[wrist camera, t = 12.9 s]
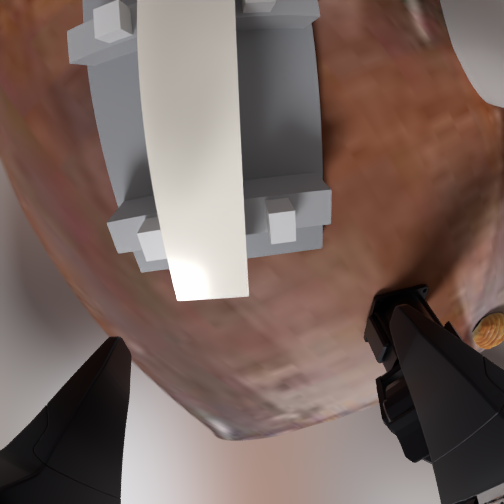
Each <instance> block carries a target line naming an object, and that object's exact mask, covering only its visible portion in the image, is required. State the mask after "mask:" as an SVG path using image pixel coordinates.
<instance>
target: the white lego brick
mask: <svg viewBox="0 0 504 504" xmlns="http://www.w3.org/2000/svg"><path fill="white" fill-rule="evenodd" d="M440 3H441V7H442V11H443V14H444V18H445V22H446V25H447V29H448V33H449V36H450V39H451V43H452V46H453V48H454V51H455V53H456V55H457V57H458V59H459V61H460V63H461V65H462V67H463V69H464V71H465V73H466V75H467V77H468V79H469V81H470V82H471V84H472V86H473V87H474V88H475V90H476V91H477V92H478V94H479V95H480V96H481V97H482V98H483V99H484V100H485V101H486V102H487V103H489V104H492V105H495V106H499V107H502V108H504V0H440Z"/></svg>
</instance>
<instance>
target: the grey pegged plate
mask: <svg viewBox="0 0 504 504" xmlns="http://www.w3.org/2000/svg"><path fill="white" fill-rule="evenodd" d="M319 17H320V12H319V5H318V0H235V18H236V43H237V67H238V90H239V112H240V133H241V154H242V175H243V195H244V215H245V234H246V253H247V258H254V257H262V256H269V255H276V254H283V253H291V252H298V251H305V250H312V249H320V248H322V237H323V225H327V224H331V189H330V188H329V187H328V186H327V185H326V183H325V182H324V181H323V160H322V133H321V114H320V99H319V86H318V74H317V64H316V54H315V46H314V37H313V30H312V22H313V21H315V20H316V19H318V18H319ZM67 39H68V52H69V62H70V64H81V65H87V68H88V76H89V83H90V90H91V96H92V102H93V107H94V113H95V118H96V123H97V128H98V132H99V137H100V141H101V146H102V150H103V154H104V158H105V162H106V166H107V170H108V174H109V177H110V181H111V184H112V188H113V191H114V195H115V198H116V201H117V205H118V209H117V210H116V212H115V213H114V214H113V215H112V217H111V218H110V219H109V221H108V222H107V225H108V228H109V231H110V233H111V236H112V239H113V241H114V244H115V247H116V249H117V252H118V254H119V253H126V252H132V251H133V252H134V255H135V257H136V260H137V263H138V265H139V268H140V271H141V272H149V271H156V270H164V269H169V265H168V260H167V256H166V252H165V247H164V243H163V238H162V234H161V229H160V224H159V219H158V214H157V209H156V204H155V198H154V193H153V187H152V181H151V175H150V169H149V162H148V155H147V148H146V141H145V133H144V125H143V116H142V106H141V95H140V83H139V68H138V47H137V0H83V24H81V25H79V26H77V27H75V28H73V29H71V30H69V31H67Z"/></svg>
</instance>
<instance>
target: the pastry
mask: <svg viewBox="0 0 504 504" xmlns="http://www.w3.org/2000/svg"><path fill="white" fill-rule="evenodd" d="M472 334H473V340H474V342H475V343H476V344H477V346H479V347H480V348H484V349H490V348H492V347H493V346H496V345H498V344H500V343H501V342H502V341H503V340H504V314H502V313H500V312H499V313H493V314H490V315H487V316H486V317H485V318H483V319H482V320H481V321H480V323H479V325H478V326H477V327H476V329H475V330H474V331H473V332H472Z"/></svg>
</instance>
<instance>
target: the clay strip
mask: <svg viewBox="0 0 504 504" xmlns="http://www.w3.org/2000/svg"><path fill="white" fill-rule="evenodd" d="M137 47H138V68H139V83H140V95H141V106H142V116H143V125H144V133H145V141H146V148H147V155H148V162H149V169H150V175H151V181H152V187H153V193H154V198H155V204H156V209H157V214H158V219H159V224H160V229H161V234H162V238H163V243H164V247H165V252H166V256H167V260H168V265H169V269H170V273H171V277H172V281H173V285H174V289H175V293H176V296H177V300H178V301H184V300H202V299H218V298H233V297H246V296H249V289H248V271H247V253H246V234H245V215H244V195H243V175H242V154H241V133H240V112H239V90H238V67H237V43H236V18H235V0H137Z"/></svg>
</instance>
